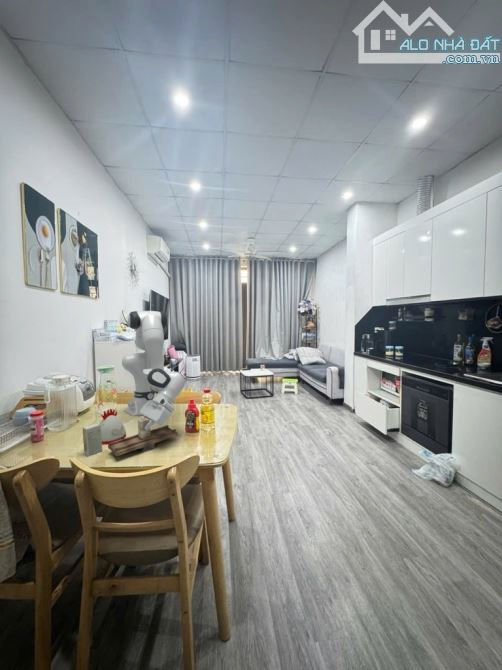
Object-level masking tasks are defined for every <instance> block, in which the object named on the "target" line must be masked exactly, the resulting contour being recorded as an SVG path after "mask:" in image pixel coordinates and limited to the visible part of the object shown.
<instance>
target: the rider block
mask: <svg viewBox="0 0 502 670" xmlns="http://www.w3.org/2000/svg"><path fill="white" fill-rule="evenodd" d="M149 421H150V419H148V418H142V417H141V418H139V419H137V434H138V437H140V438H141V439H144V438H147V437H150V430H151V427H150V428H149V429H148V430H146V429H144V426H145V425H147V424H148V423H149Z"/></svg>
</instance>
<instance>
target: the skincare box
mask: <svg viewBox="0 0 502 670" xmlns="http://www.w3.org/2000/svg"><path fill="white" fill-rule="evenodd" d="M82 437H83V438H82V440H83V441H82V443H83V453H84V455H86V457H89V456H92V455H95V454H97V453H100V452H102V451H103V445H102V439H101V425H100V424H99V423H98V422H95V423H93V424H89V425H86V426H82Z"/></svg>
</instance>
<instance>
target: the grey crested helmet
mask: <svg viewBox="0 0 502 670" xmlns="http://www.w3.org/2000/svg"><path fill="white" fill-rule="evenodd" d="M117 415H118V411H117V410H115V409H112V408H109V409H107V411H105V410H104V411H103V414H100V416H101V417H102V420H100V422H99V423H98V424H100V425H101V439H102V446H105V445H107V446H108V444H109V443H111V442H114V441H117V440H121V439H124V438H127V437H126V436H127V432H126V427H125V425H124V423H123V421H122V420H121V418H119V417H117Z"/></svg>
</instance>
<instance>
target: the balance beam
mask: <svg viewBox="0 0 502 670" xmlns="http://www.w3.org/2000/svg"><path fill="white" fill-rule="evenodd" d="M177 436H178V432H177V429H175V428H174V429H172V428H170V427H169V424H166V425H163V426H160V427H158V428H154V429H150V437H147V438H144V439H141V438H140V437H138V433H137V434H135V435H130V436H127V437H125V438H124V439H121V440H117V441H114V442H111V443H109V444H107V448H108V449H109V450H110V451H111V452H112V453H113V454H114V455H115V456H116V457H119V456H122V455H124V454H127V453H131V452H132V451H136V450H141V452H143V453H144V452H147V451H150V450H153V449H155V448H156V447H155V445H156V443H159V442H163V441H165V440H169V439H171V438H174V437H177Z"/></svg>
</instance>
